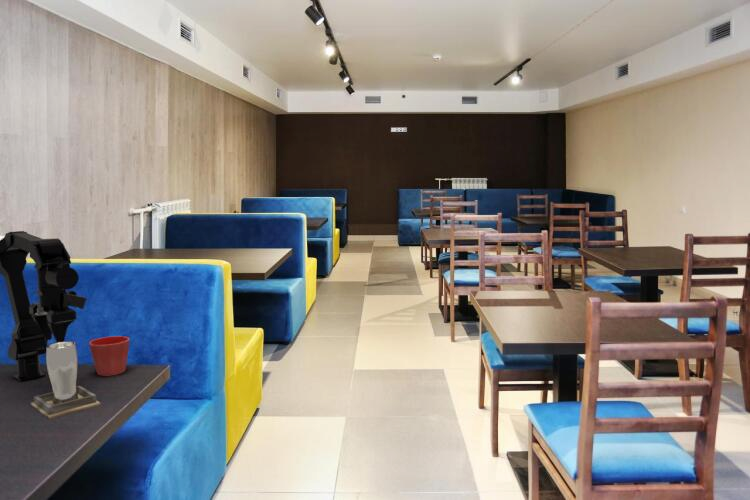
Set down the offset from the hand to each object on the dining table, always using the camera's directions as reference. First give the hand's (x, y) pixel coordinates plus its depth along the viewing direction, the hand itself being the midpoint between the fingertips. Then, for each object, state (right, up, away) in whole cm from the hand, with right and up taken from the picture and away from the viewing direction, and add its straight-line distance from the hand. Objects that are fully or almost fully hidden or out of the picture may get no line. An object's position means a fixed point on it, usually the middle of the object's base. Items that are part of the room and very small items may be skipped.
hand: (54, 342), depth 162 cm
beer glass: (+8, -14, -10) cm, 19 cm away
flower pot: (+8, -11, +16) cm, 21 cm away
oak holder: (+8, -14, -10) cm, 19 cm away
